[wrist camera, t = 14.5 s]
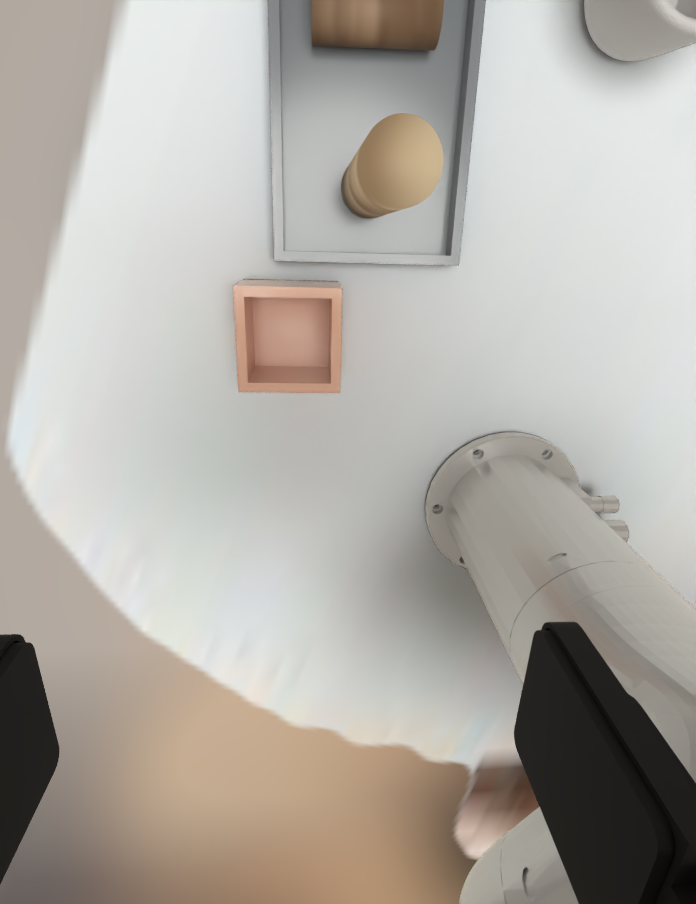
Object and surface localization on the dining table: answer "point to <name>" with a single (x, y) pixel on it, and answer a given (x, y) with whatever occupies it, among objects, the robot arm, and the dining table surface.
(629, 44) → the cup
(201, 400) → the dining table surface
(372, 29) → the walnut dowel
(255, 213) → the dining table surface
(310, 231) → the tray
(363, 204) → the oak dowel
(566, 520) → the robot arm
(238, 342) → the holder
